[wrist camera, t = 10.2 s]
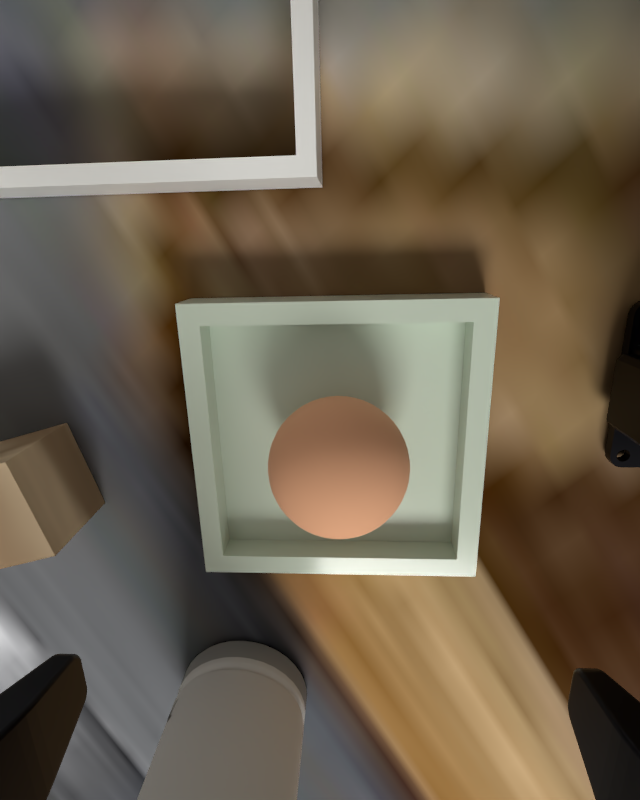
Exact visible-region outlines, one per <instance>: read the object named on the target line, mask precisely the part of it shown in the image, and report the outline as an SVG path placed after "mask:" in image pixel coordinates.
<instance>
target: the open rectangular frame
mask: <svg viewBox="0 0 640 800" xmlns="http://www.w3.org/2000/svg"><path fill="white" fill-rule="evenodd" d="M290 1H291V29H292V56H293V83H294V110H295V138H296V155H289V156H263V157H237V158H211V159H185V160H159V161H133V162H107V163H81V164H55V165H29V166H3V167H0V198H25V197H55V196H84V195H114V194H143V193H172V192H202V191H231V190H260V189H290V188H319V187H322V141H321V96H320V50H319V5H318V0H290Z"/></svg>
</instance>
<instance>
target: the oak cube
mask: <svg viewBox="0 0 640 800" xmlns="http://www.w3.org/2000/svg"><path fill="white" fill-rule="evenodd" d="M104 503H105V501H104V499H103V497H102V495H101V493H100V491H99V489H98V486H97V484H96V482H95V480H94V478H93V476H92V474H91V472H90V470H89V468H88V466H87V464H86V461H85V459H84V457H83V455H82V453H81V451H80V449H79V447H78V445H77V443H76V441H75V439H74V436H73V434H72V432H71V430H70V428H69V426H68V424H67V423H64V424H61V425H57V426H54V427H50V428H46V429H43V430H39V431H36V432H32V433H29V434H25V435H22V436H18V437H15V438H11V439H8V440H4V441H1V442H0V569H2V568H6V567H11V566H15V565H19V564H23V563H27V562H32V561H36V560H40V559H44V558H48V557H52V556H56V554H57V553H58V552H59V551H60V550H61V549H62V548H63V547H64V546H65V545H66V544H67V543H68V542H69V541H70V540H71V539H72V537H73V536H74V535H75V534H76V533H77V532H78V531H79V530H80V529H81V528H82V527H83V526H84V525H85V524H86V523H87V522H88V520H89V519H90V518H91V517H92V516H93V515H94V514H95V513H96V512H97V511H98V510H99V509H100V508H101V507H102V506H103V504H104Z"/></svg>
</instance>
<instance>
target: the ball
mask: <svg viewBox="0 0 640 800" xmlns="http://www.w3.org/2000/svg"><path fill="white" fill-rule="evenodd" d="M409 475H410V459H409V454H408V449H407V446H406V443H405V440H404V438H403V436H402V434H401V432H400V430H399V429H398V427H397V426H396V424H395V423H394V422H393V421H392V420H391V419H390V417H389V416H388V415H386V414H385V413H384V412H383V411H381V410H380V409H379V408H377V407H376V406H374V405H373V404H371V403H368V402H366V401H364V400H361V399H358V398H354V397H348V396H329V397H324V398H319V399H316V400H314V401H311V402H309V403H307V404H305V405H303V406H301V407H300V408H298V409H297V410H296V411H295V412H293V413H292V414H291V415H290V416H289V417H288V418H287V419H286V420H285V421H284V422H283V424H282V425H281V427H280V428H279V430H278V431H277V433H276V435H275V437H274V440H273V442H272V445H271V448H270V452H269V459H268V476H269V482H270V486H271V490H272V493H273V495H274V497H275V499H276V501H277V503H278V505H279V506H280V508H281V510H282V511H283V512H284V513H285V515H286V516H287V517H288V518H289V519H290V520H291V521H293V522H294V523H295V524H296V525H297V526H299V527H300V528H302V529H303V530H305V531H307V532H309V533H311V534H314V535H316V536H320V537H324V538H330V539H349V538H355V537H359V536H362V535H365V534H367V533H370V532H372V531H373V530H375V529H377V528H379V527H380V526H381V525H382V524H384V523H385V522H386V521H387V520H388V519H389V518H390V517H391V516H392V515H393V514H394V513H395V511H396V510H397V509H398V507H399V505H400V504H401V502H402V500H403V498H404V495H405V493H406V491H407V487H408V483H409Z"/></svg>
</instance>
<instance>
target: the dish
mask: <svg viewBox="0 0 640 800" xmlns="http://www.w3.org/2000/svg"><path fill="white" fill-rule="evenodd" d="M499 300H500V298H499V297H496V296H493V295H491V294H488V293H440V294H389V295H338V296H287V297H236V298H191V299H188V300H185V301H182V302H179V303H176V304H175V309H176V317H177V326H178V335H179V343H180V352H181V360H182V369H183V378H184V386H185V395H186V404H187V412H188V421H189V430H190V438H191V447H192V456H193V464H194V473H195V482H196V490H197V499H198V508H199V516H200V525H201V533H202V542H203V551H204V559H205V568H206V572H242V573H300V574H357V575H414V576H472V577H476V566H477V554H478V543H479V531H480V520H481V508H482V497H483V485H484V474H485V462H486V450H487V439H488V427H489V416H490V404H491V393H492V381H493V370H494V358H495V347H496V335H497V324H498V312H499ZM329 396H348V397H354V398H358V399H361V400H364V401H366V402H368V403H371V404H373V405H374V406H376V407H377V408H379V409H380V410H381V411H383V412H384V413H385V414H386V415H388V416H389V417H390V419H391V420H392V421H393V422H394V423H395V424H396V426H397V427H398V429H399V430H400V432H401V434H402V436H403V438H404V440H405V443H406V446H407V449H408V454H409V459H410V475H409V483H408V487H407V491H406V493H405V495H404V498H403V500H402V502H401V504H400V505H399V507H398V509H397V510H396V511H395V513H394V514H393V515H392V516H391V517H390V518H389V519H388V520H387V521H386V522H385V523H384V524H382V525H381V526H380V527H379V528H377V529H375V530H373V531H372V532H370V533H367V534H365V535H362V536H359V537H355V538H349V539H330V538H324V537H320V536H316V535H314V534H311V533H309V532H307V531H305V530H303V529H302V528H300V527H299V526H297V525H296V524H295V523H294V522H293V521H291V520H290V519H289V518H288V517H287V516H286V515H285V513H284V512H283V511H282V510H281V508H280V506H279V505H278V503H277V501H276V499H275V497H274V495H273V493H272V490H271V486H270V482H269V476H268V459H269V452H270V448H271V445H272V442H273V440H274V437H275V435H276V433H277V431H278V430H279V428H280V427H281V425H282V424H283V422H284V421H285V420H286V419H287V418H288V417H289V416H290V415H291V414H292V413H293V412H295V411H296V410H297V409H298V408H300V407H301V406H303V405H305V404H307V403H309V402H311V401H314V400H316V399H319V398H324V397H329Z"/></svg>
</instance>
